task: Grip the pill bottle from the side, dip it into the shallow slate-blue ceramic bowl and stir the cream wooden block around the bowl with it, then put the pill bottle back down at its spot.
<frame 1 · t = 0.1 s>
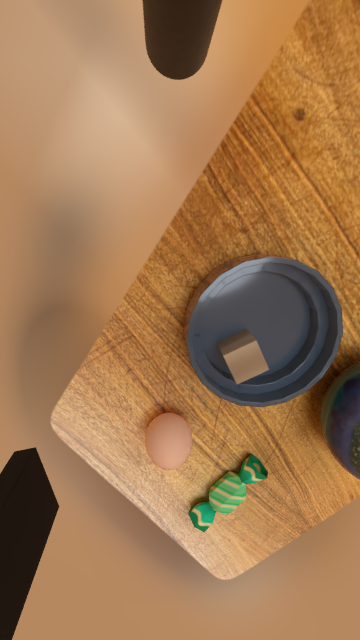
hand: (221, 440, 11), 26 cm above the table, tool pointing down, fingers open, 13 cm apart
candy: (224, 482, 45), on the table
vase: (357, 394, 42), on the table
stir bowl: (253, 325, 38), on the table
egg: (167, 420, 41), on the table
block: (237, 349, 38), point 1 cm above the table, touching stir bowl
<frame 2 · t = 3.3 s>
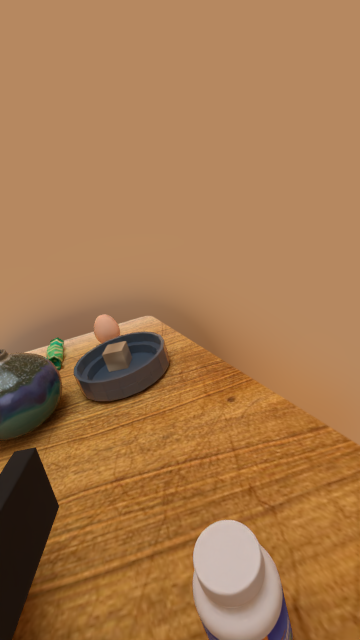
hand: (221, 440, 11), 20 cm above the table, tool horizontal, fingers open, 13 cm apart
candy: (58, 360, 74), on the table
vase: (29, 421, 54), on the table
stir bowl: (126, 373, 60), on the table
egg: (112, 344, 75), on the table
block: (120, 364, 62), point 1 cm above the table, touching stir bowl
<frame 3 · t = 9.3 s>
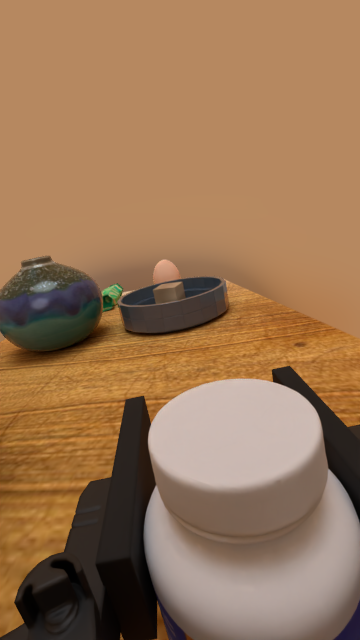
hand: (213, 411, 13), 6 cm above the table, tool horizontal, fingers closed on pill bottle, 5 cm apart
candy: (112, 304, 70), on the table
vase: (63, 343, 49), on the table
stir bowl: (176, 316, 51), on the table
egg: (170, 295, 67), on the table
block: (172, 307, 54), point 1 cm above the table, touching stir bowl
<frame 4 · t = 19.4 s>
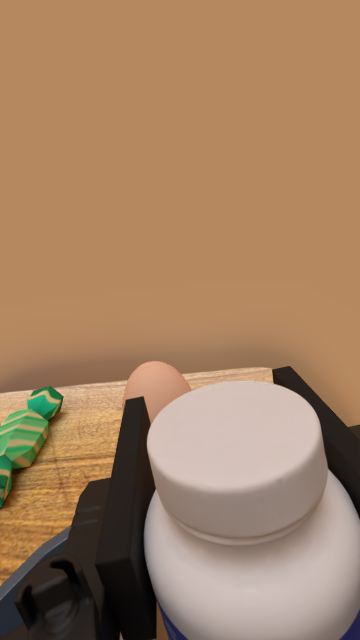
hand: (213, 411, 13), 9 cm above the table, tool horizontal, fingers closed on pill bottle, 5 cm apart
candy: (27, 455, 28), on the table
egg: (169, 448, 26), on the table
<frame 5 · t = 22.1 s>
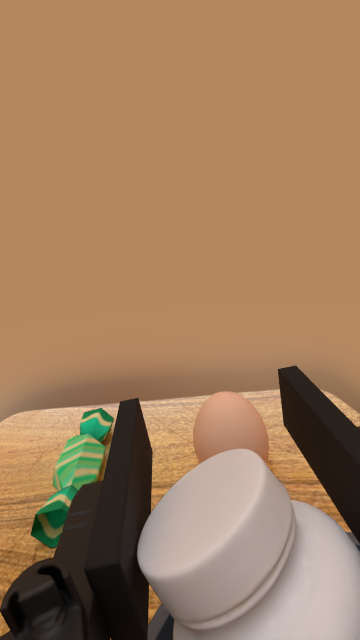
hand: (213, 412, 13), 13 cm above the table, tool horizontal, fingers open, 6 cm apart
candy: (86, 481, 28), on the table
egg: (236, 477, 25), on the table
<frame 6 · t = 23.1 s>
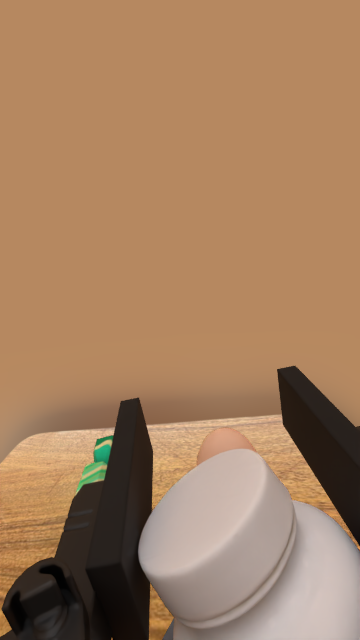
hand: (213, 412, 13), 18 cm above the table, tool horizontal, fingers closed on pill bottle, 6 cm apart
candy: (101, 504, 32), on the table
egg: (234, 501, 29), on the table
when the fingers open (8 cm above the table, at t = 31.6 s): pill bottle stays where it is, on the table.
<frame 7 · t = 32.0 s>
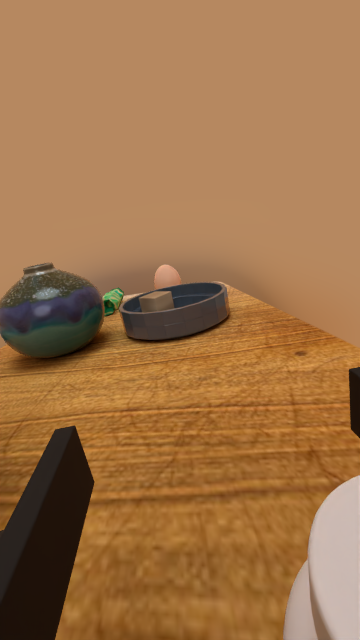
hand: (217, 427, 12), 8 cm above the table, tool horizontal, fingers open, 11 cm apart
candy: (113, 308, 70), on the table
vase: (65, 349, 49), on the table
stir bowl: (177, 322, 51), on the table
egg: (171, 300, 67), on the table
block: (159, 316, 54), point 1 cm above the table, touching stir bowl
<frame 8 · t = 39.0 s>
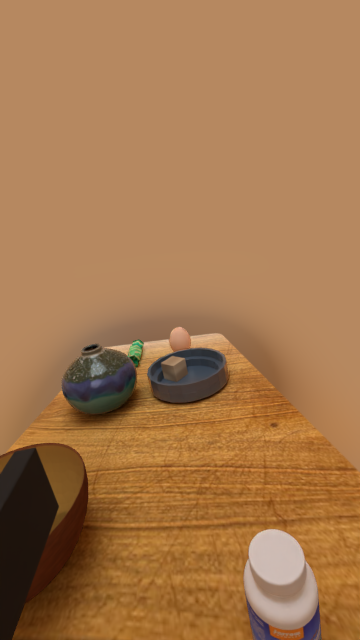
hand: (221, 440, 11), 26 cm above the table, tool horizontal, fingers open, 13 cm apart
pill bottle: (286, 639, 26), on the table
candy: (136, 359, 88), on the table
vase: (107, 404, 67), on the table
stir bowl: (189, 382, 69), on the table
bowl: (31, 569, 35), on the table
egg: (182, 353, 85), on the table
block: (176, 376, 72), point 1 cm above the table, touching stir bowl
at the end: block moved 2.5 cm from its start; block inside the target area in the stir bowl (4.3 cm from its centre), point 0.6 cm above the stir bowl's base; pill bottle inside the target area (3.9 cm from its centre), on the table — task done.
